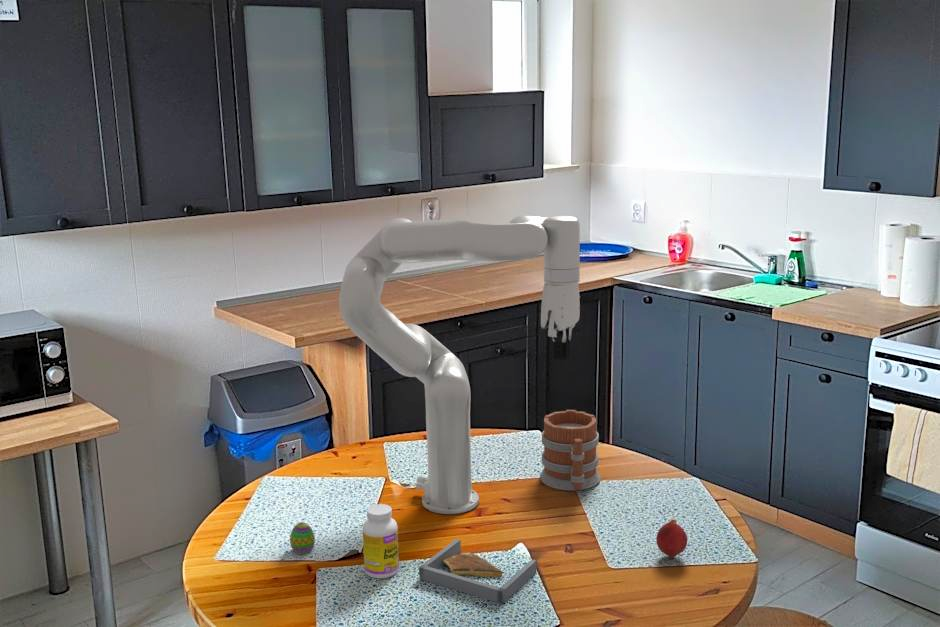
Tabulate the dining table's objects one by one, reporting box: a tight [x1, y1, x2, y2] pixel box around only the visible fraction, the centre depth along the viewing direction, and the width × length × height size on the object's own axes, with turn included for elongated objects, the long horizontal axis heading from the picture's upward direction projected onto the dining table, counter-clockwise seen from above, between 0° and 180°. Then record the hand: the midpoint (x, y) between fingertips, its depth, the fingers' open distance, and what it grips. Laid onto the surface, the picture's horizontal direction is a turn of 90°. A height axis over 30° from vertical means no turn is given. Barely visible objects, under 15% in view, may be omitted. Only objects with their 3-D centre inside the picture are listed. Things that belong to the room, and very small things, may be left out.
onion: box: [655, 518, 688, 559], centre depth 185 cm, size 6×6×8 cm
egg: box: [289, 521, 316, 555], centre depth 192 cm, size 5×5×6 cm
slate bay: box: [418, 538, 538, 605], centre depth 181 cm, size 18×13×2 cm
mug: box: [539, 409, 601, 492], centre depth 219 cm, size 14×19×15 cm
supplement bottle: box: [362, 503, 400, 579], centre depth 182 cm, size 7×7×13 cm
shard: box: [443, 552, 505, 577], centre depth 183 cm, size 11×8×2 cm
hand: (561, 358), depth 207 cm, fingers closed
